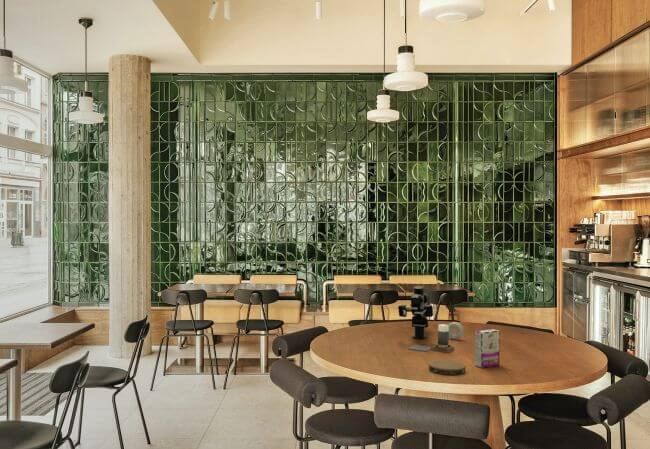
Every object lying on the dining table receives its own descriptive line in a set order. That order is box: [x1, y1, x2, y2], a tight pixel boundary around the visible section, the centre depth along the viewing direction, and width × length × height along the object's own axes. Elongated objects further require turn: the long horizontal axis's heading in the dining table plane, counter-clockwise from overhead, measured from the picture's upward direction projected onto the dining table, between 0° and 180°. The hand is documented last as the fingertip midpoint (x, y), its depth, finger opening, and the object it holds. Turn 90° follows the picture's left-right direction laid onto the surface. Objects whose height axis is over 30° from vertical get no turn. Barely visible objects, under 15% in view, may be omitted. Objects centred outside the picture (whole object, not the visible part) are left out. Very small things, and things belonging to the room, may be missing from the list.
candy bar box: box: [474, 328, 501, 369], centre depth 266 cm, size 11×5×16 cm, turn 117°
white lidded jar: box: [437, 323, 450, 348], centre depth 298 cm, size 6×6×13 cm
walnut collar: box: [431, 343, 455, 354], centre depth 298 cm, size 9×9×2 cm
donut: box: [448, 321, 465, 340], centre depth 325 cm, size 10×3×10 cm, turn 64°
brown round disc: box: [428, 359, 466, 376], centre depth 256 cm, size 16×16×3 cm
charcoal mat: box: [407, 344, 432, 353], centre depth 300 cm, size 10×10×1 cm
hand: (413, 316), depth 305 cm, fingers open, 9 cm apart
